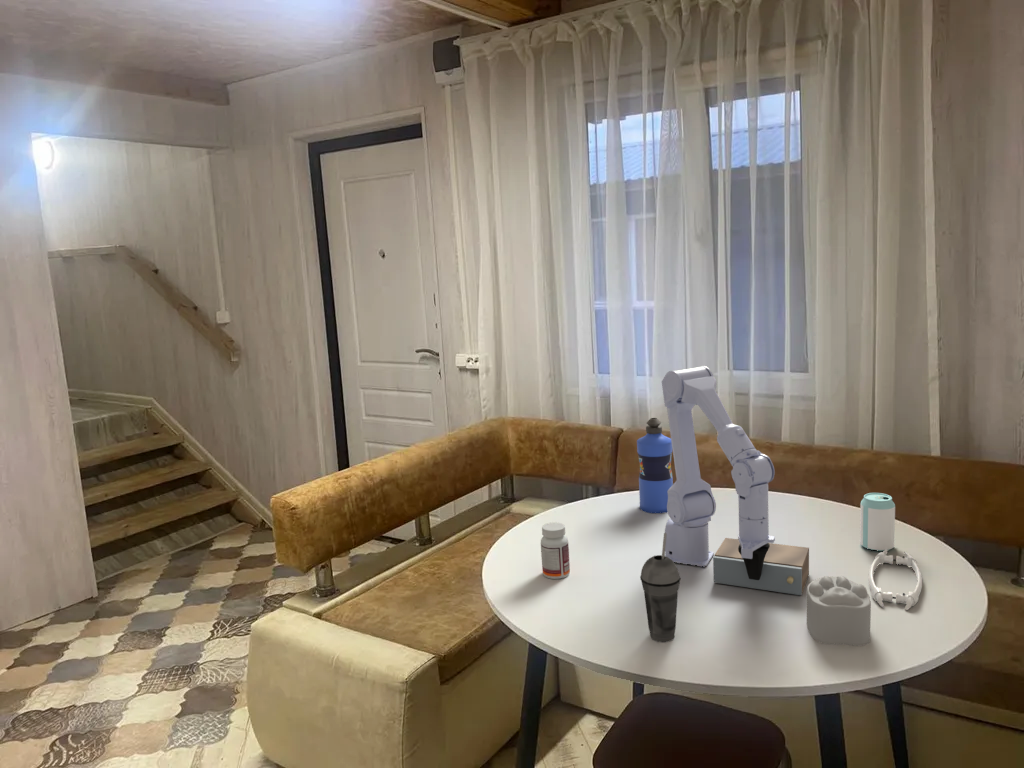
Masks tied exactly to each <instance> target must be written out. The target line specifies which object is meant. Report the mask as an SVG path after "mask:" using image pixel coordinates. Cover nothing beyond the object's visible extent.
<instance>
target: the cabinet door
mask: <svg viewBox="0 0 1024 768" xmlns="http://www.w3.org/2000/svg"><path fill="white" fill-rule="evenodd" d="M712 560H713V561H712V565H713V583H714V584H715V583H716V584H722V585H728V586H734V587H735V586H736V587H742V588H750V589H757V590H762V591H771V592H776V593H777V592H778V593H783V594H789V595H796V596H802V595H803V593H802V568H801V567H794V566H786V565H779V564H771V563H763V568H762V573H761V577H760V580H753V579H749V577H748V574H747V570H746V566H745V563H744V560H741V559H733V558H726V557H718V556H715V555H713V556H712Z"/></svg>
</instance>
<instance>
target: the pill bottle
mask: <svg viewBox="0 0 1024 768" xmlns="http://www.w3.org/2000/svg"><path fill="white" fill-rule="evenodd" d="M541 534H542V536H541V539H540V554H541V555H540V556H541V567H542V569H541V571H542V575H543V576H544V577H545V578H548V579H551V580H558V579H559V580H560V579H564V578H566V577H567V576H569V575H570V572H571V568H570V567H571V565H570V563H571V562H570V549H569V539H568V536H567V535H566V526H565V524H564V523H562V522H557V521H555V522H553V521H552V522H548V523H545V524H543V525H542V526H541Z"/></svg>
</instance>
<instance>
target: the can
mask: <svg viewBox="0 0 1024 768" xmlns="http://www.w3.org/2000/svg"><path fill="white" fill-rule="evenodd" d="M859 513H860V515H859V516H860V520H859V521H860V524H859V526H860V527H859V529H860V530H859V534H860V535H859V544H860V545H861V546H862V547H863V548H865V549H866V548H868V549H871V550H878V551H884V550H888V551H890V550H892V549H893V548H894V547H895V530H896V529H895V527H896V526H895V525H896V522H895V521H896V504H895V502H894V501H893V497H892V496H891V495H889V494H887V493H882V492H869V493H866V494H864V495H863V498H862V499H861V501H860V512H859ZM868 549H867V550H868ZM871 550H870V551H871ZM878 551H877V552H878Z"/></svg>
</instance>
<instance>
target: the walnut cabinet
mask: <svg viewBox="0 0 1024 768" xmlns="http://www.w3.org/2000/svg"><path fill="white" fill-rule="evenodd" d="M769 544H770V547H769V549H768V551H767V553H766V555H765V558H764V562H763V563H771V564H779V565H786V566H794V567H801V568H802V594H803V593H804V590H805V586H806V584H807V582H806V581H808V579H809V576H810V547H805V546H798V545H791V544H780V543H769ZM739 545H740V542H739V540H738V538H729V537H724V540H722V543H721V544H720V546H719V547H718V549H717V550H716V552H714V556H718V557H726V558H733V559H741V560H743V558H741V554H740V553H739V551H738V547H739ZM808 575H809V576H808ZM807 578H808V579H807Z"/></svg>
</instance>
